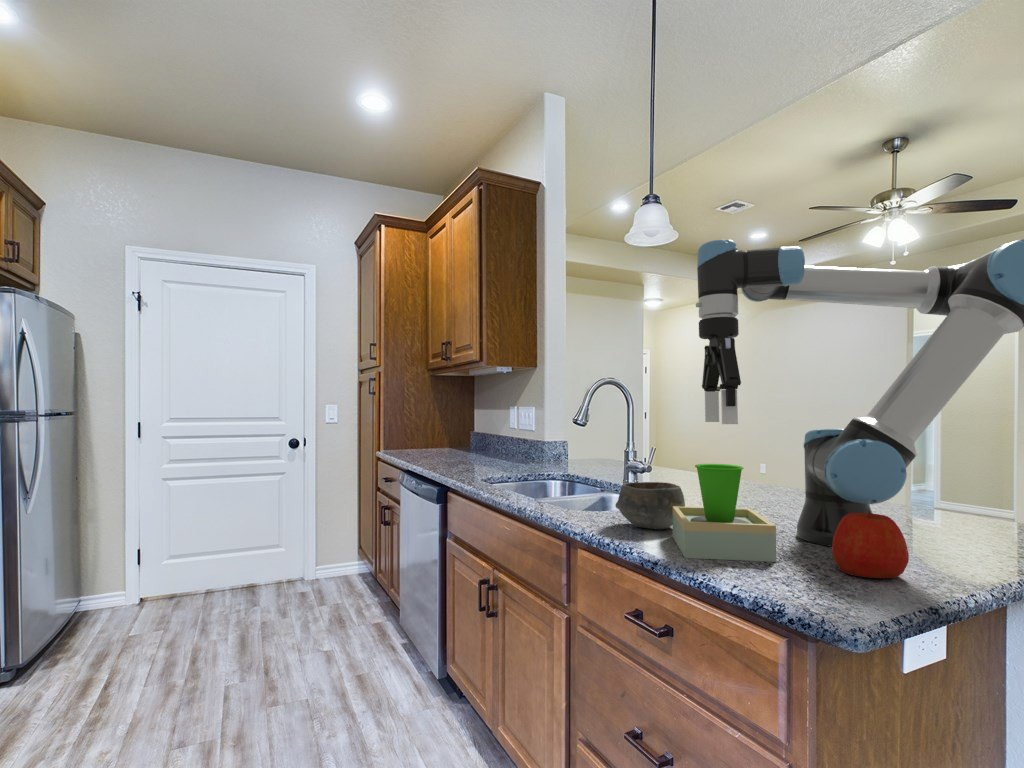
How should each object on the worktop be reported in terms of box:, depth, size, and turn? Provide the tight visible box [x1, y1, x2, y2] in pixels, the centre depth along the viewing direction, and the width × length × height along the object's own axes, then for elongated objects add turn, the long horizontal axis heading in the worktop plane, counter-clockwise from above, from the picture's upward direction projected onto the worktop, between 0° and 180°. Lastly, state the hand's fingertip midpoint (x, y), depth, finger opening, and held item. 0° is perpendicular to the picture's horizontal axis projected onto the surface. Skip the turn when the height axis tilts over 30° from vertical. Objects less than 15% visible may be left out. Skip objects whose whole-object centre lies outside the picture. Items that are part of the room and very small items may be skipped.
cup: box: [694, 463, 744, 523], centre depth 107 cm, size 9×9×11 cm
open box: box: [672, 506, 777, 563], centre depth 106 cm, size 16×16×6 cm
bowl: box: [614, 481, 686, 530], centre depth 124 cm, size 14×15×10 cm
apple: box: [831, 511, 910, 579], centre depth 90 cm, size 11×11×11 cm
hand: (720, 423), depth 108 cm, fingers open, 13 cm apart
